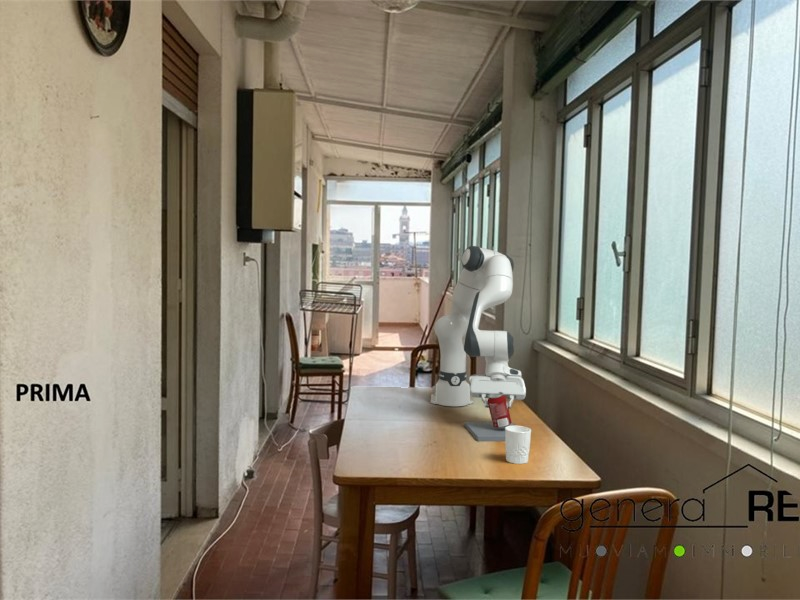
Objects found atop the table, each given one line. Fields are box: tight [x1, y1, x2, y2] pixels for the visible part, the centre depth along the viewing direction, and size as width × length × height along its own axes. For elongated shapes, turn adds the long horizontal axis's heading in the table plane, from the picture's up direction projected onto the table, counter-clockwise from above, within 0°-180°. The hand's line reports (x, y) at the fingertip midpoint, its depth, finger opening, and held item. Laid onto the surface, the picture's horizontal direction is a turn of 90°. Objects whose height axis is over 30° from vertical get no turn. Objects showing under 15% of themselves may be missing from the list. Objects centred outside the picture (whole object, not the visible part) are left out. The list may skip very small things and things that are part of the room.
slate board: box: [464, 421, 517, 442], centre depth 219 cm, size 20×18×2 cm
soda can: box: [486, 392, 513, 429], centre depth 218 cm, size 7×7×12 cm
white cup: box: [504, 425, 532, 465], centre depth 188 cm, size 8×8×10 cm
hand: (497, 407), depth 217 cm, fingers closed on soda can, 6 cm apart
